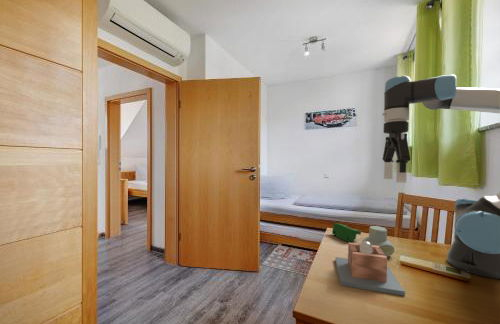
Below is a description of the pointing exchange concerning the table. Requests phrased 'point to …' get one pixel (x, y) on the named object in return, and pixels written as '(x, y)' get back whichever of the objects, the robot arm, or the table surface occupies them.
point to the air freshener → (380, 239)
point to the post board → (367, 280)
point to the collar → (367, 263)
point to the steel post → (365, 247)
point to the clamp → (345, 232)
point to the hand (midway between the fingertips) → (394, 180)
